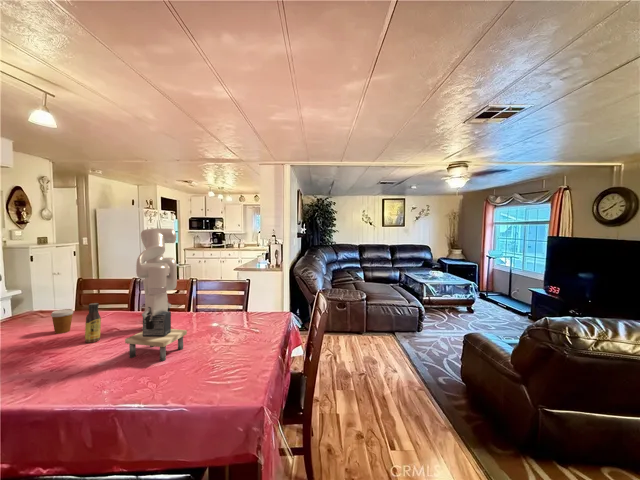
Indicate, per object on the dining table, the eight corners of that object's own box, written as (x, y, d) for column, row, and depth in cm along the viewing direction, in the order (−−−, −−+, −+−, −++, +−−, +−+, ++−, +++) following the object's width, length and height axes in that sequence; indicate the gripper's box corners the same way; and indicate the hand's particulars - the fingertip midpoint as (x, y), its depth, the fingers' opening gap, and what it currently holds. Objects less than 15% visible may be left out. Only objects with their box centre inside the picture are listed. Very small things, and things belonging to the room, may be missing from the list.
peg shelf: (152, 344, 141) (152, 327, 141) (186, 347, 138) (186, 330, 137) (125, 358, 125) (125, 339, 125) (163, 362, 122) (163, 342, 122)
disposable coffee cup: (47, 333, 153) (47, 312, 153) (68, 327, 162) (68, 307, 161) (56, 336, 149) (56, 314, 149) (77, 330, 158) (77, 309, 158)
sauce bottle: (91, 344, 140) (91, 305, 139) (81, 342, 141) (81, 305, 141) (103, 339, 146) (103, 302, 146) (94, 338, 148) (94, 301, 147)
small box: (171, 331, 135) (171, 311, 135) (164, 336, 128) (164, 315, 128) (150, 331, 134) (150, 310, 134) (142, 336, 128) (142, 314, 128)
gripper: (163, 286, 140) (163, 319, 140) (135, 294, 123) (135, 331, 123) (176, 287, 139) (176, 320, 139) (150, 295, 121) (150, 332, 122)
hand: (157, 325), depth 131 cm, fingers open, 9 cm apart
